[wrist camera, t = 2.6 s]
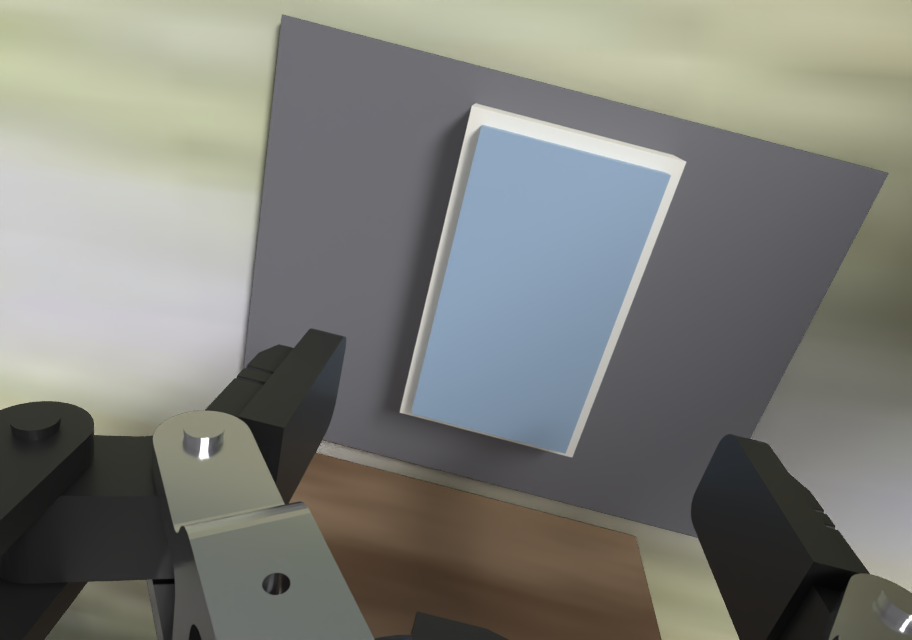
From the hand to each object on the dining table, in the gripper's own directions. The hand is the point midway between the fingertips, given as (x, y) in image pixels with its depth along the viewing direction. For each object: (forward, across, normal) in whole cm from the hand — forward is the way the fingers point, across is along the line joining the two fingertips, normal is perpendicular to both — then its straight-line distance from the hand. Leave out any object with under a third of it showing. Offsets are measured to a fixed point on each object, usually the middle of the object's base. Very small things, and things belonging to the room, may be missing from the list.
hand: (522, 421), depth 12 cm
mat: (+8, 0, 0) cm, 8 cm away
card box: (+8, 0, 0) cm, 8 cm away
